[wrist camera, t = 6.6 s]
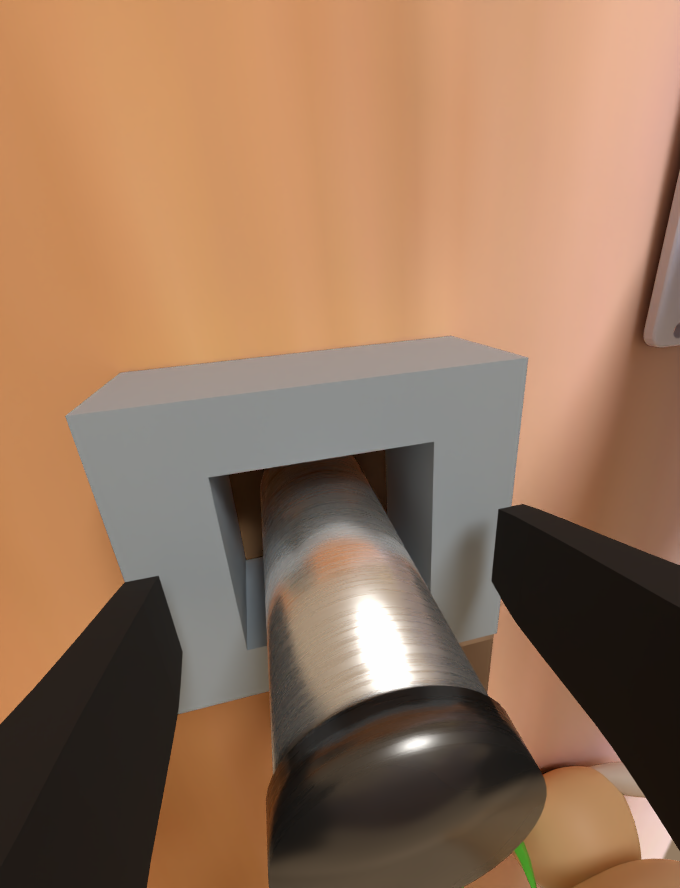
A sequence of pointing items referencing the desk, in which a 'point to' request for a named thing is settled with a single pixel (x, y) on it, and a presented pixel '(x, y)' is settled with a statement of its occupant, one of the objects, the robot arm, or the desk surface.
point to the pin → (375, 705)
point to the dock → (290, 442)
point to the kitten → (590, 834)
